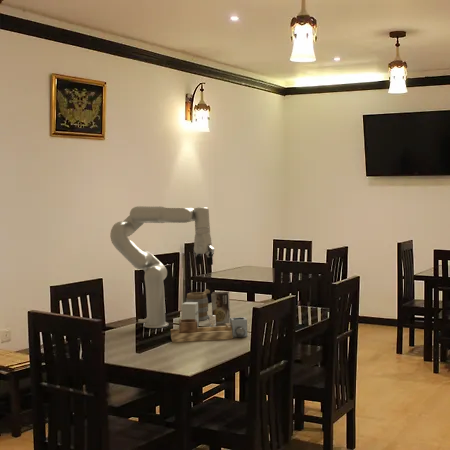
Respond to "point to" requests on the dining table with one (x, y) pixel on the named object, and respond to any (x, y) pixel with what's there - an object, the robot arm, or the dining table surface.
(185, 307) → the supplement box
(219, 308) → the coffee box
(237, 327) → the grey hollow block
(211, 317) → the pin
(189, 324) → the crate
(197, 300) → the tankard
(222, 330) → the tray
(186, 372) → the dining table surface
